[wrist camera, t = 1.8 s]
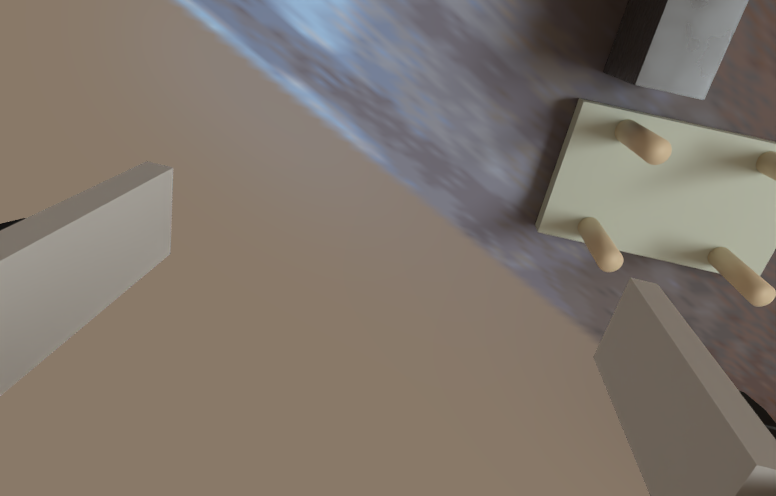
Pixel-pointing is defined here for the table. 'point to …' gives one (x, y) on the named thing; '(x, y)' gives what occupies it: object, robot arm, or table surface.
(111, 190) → the robot arm
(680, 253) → the peg rack
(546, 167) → the table surface
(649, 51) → the long grey bar
